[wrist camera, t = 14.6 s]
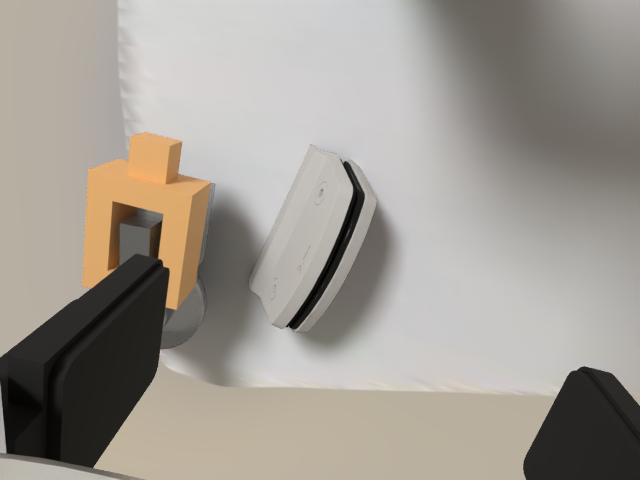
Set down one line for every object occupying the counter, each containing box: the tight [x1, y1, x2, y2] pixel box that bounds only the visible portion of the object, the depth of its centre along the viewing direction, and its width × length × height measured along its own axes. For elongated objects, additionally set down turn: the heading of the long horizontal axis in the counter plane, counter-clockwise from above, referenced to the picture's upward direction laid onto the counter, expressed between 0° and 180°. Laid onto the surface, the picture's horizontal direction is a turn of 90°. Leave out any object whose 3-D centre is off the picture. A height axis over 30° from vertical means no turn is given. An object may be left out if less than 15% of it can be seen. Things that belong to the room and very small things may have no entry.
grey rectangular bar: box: [119, 209, 163, 265], centre depth 41 cm, size 4×2×11 cm, turn 171°
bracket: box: [82, 132, 211, 310], centre depth 37 cm, size 13×8×4 cm, turn 167°
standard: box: [137, 183, 215, 349], centre depth 41 cm, size 18×10×14 cm, turn 167°
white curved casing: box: [248, 144, 377, 332], centre depth 42 cm, size 17×5×10 cm, turn 155°
